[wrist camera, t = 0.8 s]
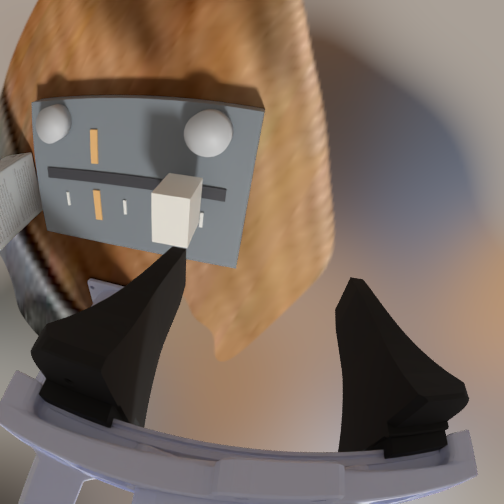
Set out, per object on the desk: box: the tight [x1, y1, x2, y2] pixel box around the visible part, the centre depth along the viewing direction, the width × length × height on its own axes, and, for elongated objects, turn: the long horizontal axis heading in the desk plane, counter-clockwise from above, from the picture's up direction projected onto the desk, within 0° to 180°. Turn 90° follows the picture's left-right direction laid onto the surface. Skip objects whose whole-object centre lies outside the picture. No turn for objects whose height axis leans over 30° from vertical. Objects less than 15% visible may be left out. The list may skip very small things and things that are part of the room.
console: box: [32, 95, 265, 268], centre depth 20 cm, size 12×18×3 cm, turn 81°
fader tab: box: [151, 173, 203, 248], centre depth 18 cm, size 3×2×4 cm
